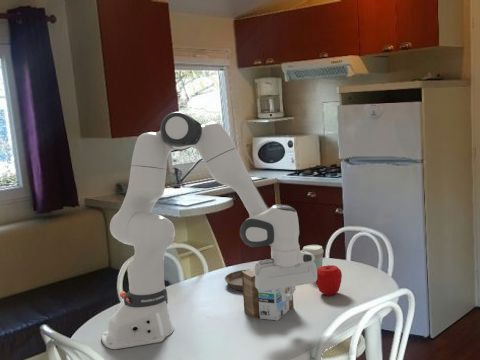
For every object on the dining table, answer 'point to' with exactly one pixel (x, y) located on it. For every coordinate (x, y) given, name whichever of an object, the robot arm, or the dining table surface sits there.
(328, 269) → the apple
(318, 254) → the coffee cup
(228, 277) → the plant saucer
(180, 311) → the dining table surface
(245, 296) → the walnut dock
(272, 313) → the light bulb box
